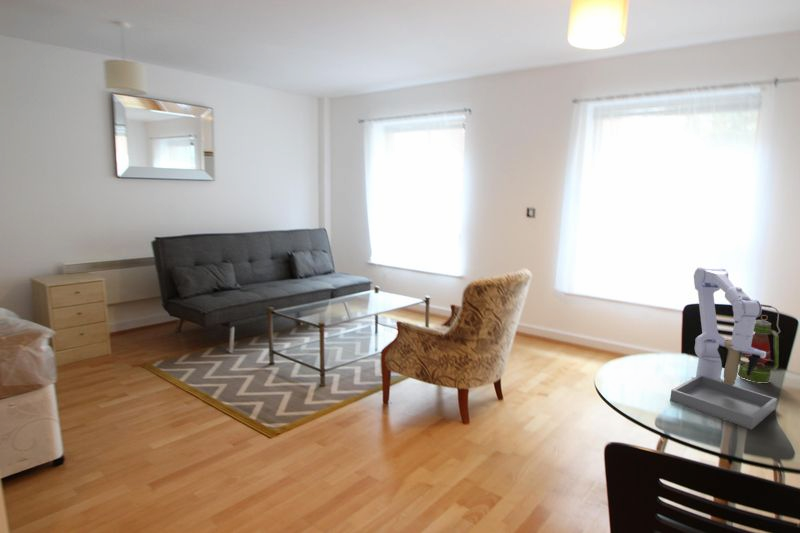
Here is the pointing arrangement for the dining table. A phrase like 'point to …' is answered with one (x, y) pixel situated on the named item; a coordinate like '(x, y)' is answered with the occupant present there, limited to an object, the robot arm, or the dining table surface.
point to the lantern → (761, 343)
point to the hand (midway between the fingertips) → (736, 371)
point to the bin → (724, 401)
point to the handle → (731, 364)
